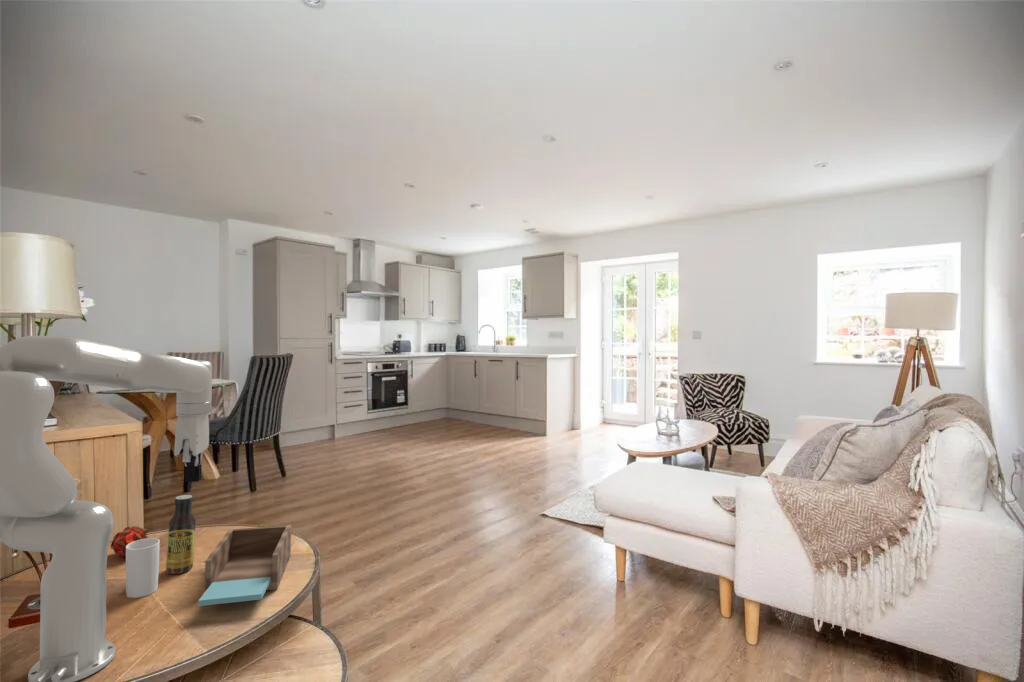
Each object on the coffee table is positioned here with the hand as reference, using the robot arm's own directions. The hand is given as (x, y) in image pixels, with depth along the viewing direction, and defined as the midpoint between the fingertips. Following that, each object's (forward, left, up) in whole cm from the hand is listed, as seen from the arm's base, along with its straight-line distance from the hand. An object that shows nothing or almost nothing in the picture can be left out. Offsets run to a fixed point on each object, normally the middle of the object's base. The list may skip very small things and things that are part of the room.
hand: (193, 480), depth 126 cm
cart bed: (+3, -13, -27) cm, 30 cm away
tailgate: (-7, -13, -24) cm, 29 cm away
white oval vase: (+1, +11, -27) cm, 29 cm away
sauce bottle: (+10, +6, -27) cm, 29 cm away
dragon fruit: (+23, +23, -27) cm, 42 cm away
